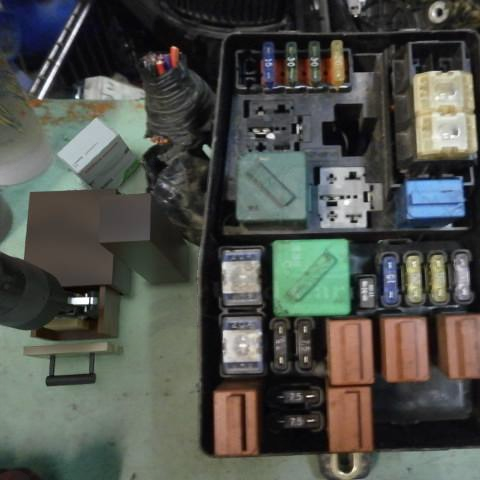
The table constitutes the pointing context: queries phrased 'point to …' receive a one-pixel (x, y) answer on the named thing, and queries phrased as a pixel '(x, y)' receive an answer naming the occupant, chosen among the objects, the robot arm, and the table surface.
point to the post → (143, 238)
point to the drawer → (81, 338)
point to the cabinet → (72, 240)
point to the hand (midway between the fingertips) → (73, 314)
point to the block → (68, 324)
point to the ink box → (99, 156)
